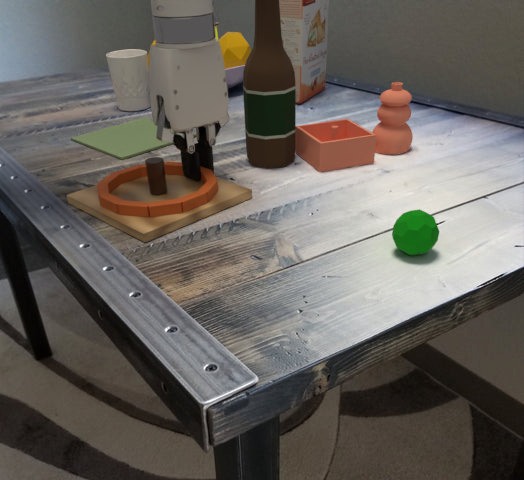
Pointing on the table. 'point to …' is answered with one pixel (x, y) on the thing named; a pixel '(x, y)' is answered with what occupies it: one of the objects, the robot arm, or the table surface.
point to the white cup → (130, 79)
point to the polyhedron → (415, 232)
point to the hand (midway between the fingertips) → (199, 175)
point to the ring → (160, 206)
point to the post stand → (154, 190)
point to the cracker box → (306, 43)
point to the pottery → (357, 135)
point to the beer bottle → (269, 93)
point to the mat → (124, 139)
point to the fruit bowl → (231, 55)
